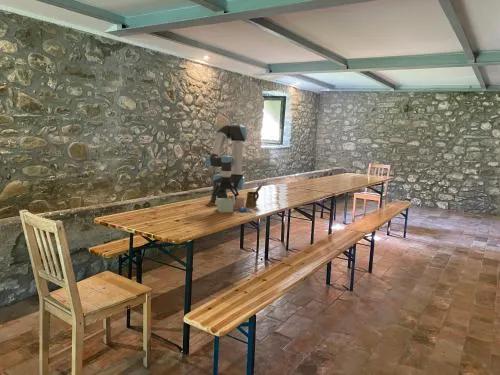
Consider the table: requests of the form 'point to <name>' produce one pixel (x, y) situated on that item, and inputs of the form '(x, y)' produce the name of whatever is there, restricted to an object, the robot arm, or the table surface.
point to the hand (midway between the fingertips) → (225, 204)
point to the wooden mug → (252, 197)
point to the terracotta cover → (238, 202)
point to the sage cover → (225, 204)
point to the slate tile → (243, 211)
